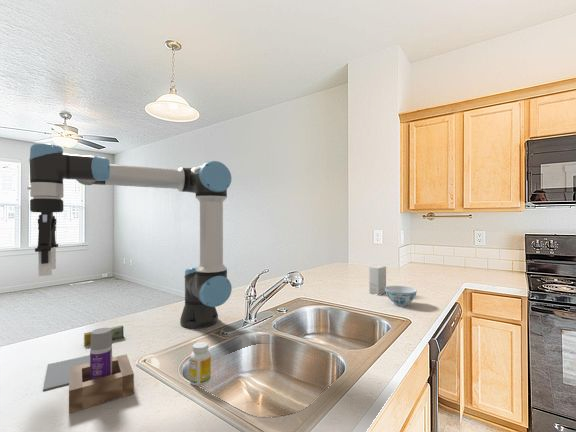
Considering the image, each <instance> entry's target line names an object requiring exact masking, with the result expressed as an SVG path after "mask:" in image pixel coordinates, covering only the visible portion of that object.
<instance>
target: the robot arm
mask: <svg viewBox="0 0 576 432" xmlns="http://www.w3.org/2000/svg"><path fill="white" fill-rule="evenodd" d="M28 160H29V161H28V162H29V183H30V185H29V186H27V187H26V188H27V190H28V191H29V190H30V191H29V193H30V197H31V199H30V200H29V211H30V212H31V213H40V214H39V215H38V218H37V225H38V227H37V229H38V235H37V237H38V238H37V247H35V248H34V252H35V253H37V252H38V255H37V256H38V277H47V276H52V274H53V270H56V269H57V268H56V267H57V265H56V264H57V262H56V261H57V253H56V248H59V243H57V242H56V231H57V218H56V216H55V215H54V213H62V212H64V200H63V198H64V179H65V180H76V181H77V182H78V183H79V184H81V185H84V186H92V185H100V186H101V185H103V186H118V187H119V186H121V187H122V186H123V187H139V188H155V189H157V188H158V189H176V190H178V191H179V192H185V193H192V194H195V199H196V200H197V201H198V202H199V266H194V267H188V268H186V269H184V270H185V271H184V306H183V309H182V312H181V315H180V319H179V320H180V322H179V323H180V326H182V327H183V328H187V329H200V328H206V327H210V326H214V325H215V324H217V323H218V322H219V314H218V311H217V309H216V307H219V306H222V305H223V304H225V303H227V301H228V300H229V298H230V296H231V294H232V291H233V289H232V288H233V287H232V283H231V282H230V280H229V279H228V268H227V266H225V264H224V201H225V200H227V198H228V189H229V188H230V185H231V183H232V173H231V171H230V169H229V168H228V167H227V166H226V164H224V163H223V162H221V161H217V160H211V161H206V162H204V163H202V164H200V165H198V166H193V167H179V168H178V169H173V168H172V169H171V168H170V169H169V168H161V167H160V168H159V167H149V166H140V165H139V166H135V165H124V164H116V163H115V164H113V163H110V159H109V158H108V157H103V156H98V155H83V154H71V153H65V152H64V150H63V147H62V146H59V145H57V144H51V143H44V142H43V143H41V142H40V143H34V144H32V145H30V151H29V159H28Z"/></svg>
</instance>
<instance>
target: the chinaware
mask: <svg viewBox="0 0 576 432" xmlns="http://www.w3.org/2000/svg"><path fill="white" fill-rule="evenodd" d="M385 292H386V293H385V294H386V297H387V298H388V299H389V300H390V302H393V303H394V304H395V305H394V304H393V305H394V306H396V305H400V306H399V307H407V306H406V305H408V306H409V304H410V303H412V302H413V301H414V299H415V298H416V296H417V292H418V291H417V289H416V288H413V287H410V286H406V285H405V286H404V285H389V286H386V287H385Z"/></svg>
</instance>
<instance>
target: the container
mask: <svg viewBox="0 0 576 432" xmlns="http://www.w3.org/2000/svg"><path fill="white" fill-rule="evenodd" d="M111 328H112V327H100V328H95V329H93V330H92V331H90V332H91V345H89V346H90V347H89V349H90V350H89V355H90V380H93V379H97V378H101V377H105V376H109V375H112V357H113V340H112V330H111Z"/></svg>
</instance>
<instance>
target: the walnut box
mask: <svg viewBox="0 0 576 432" xmlns="http://www.w3.org/2000/svg"><path fill="white" fill-rule="evenodd" d="M134 393H135V374H134V370H133V367H132V365H131V362H130V360H129V357H128V354H122V355H118V356H117V355H116V356H114V357H113V356H112V375H109V376H105V377H101V378H97V379H93V380H90V363H86V364H82V365H78V366H73V367H70V377H69V385H68V414H72V413H74V412H78V411H81V410H85V409H88V408H92V407H94V406H95V407H96V406H98V405H101V404H105V403H108V402H112V401H114V400H118V399H120V398H121V399H122V398H125V397H127V396H132V395H134Z"/></svg>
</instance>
